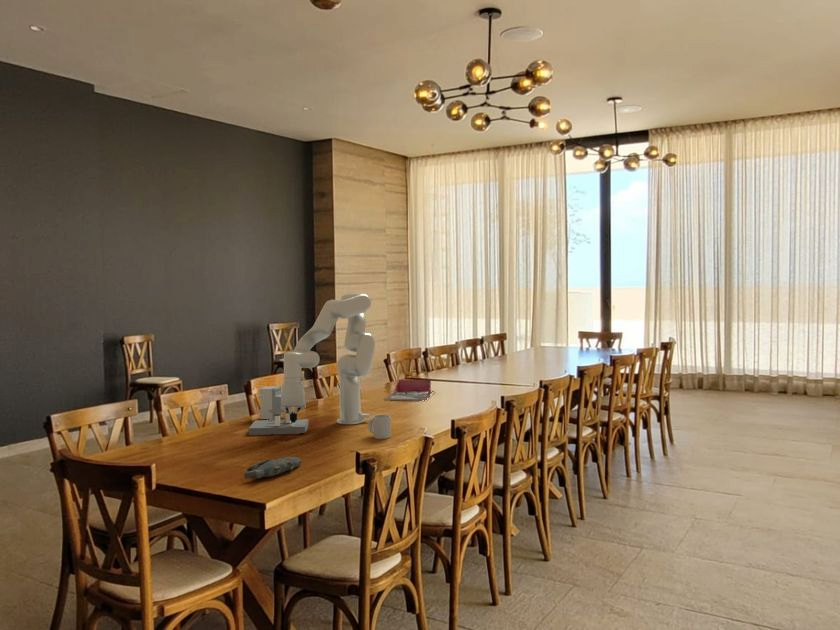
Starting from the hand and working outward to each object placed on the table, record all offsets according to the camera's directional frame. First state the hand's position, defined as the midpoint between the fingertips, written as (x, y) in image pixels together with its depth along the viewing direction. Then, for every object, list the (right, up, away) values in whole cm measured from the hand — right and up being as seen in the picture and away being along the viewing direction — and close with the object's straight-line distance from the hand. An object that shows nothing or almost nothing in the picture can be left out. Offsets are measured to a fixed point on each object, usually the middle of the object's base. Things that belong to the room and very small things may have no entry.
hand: (293, 422), depth 305 cm
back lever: (-4, -1, +12) cm, 12 cm away
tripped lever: (-7, -1, 0) cm, 7 cm away
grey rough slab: (+3, -8, -64) cm, 64 cm away
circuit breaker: (-14, -4, +33) cm, 36 cm away
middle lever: (-3, -1, +6) cm, 7 cm away
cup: (+38, -5, -10) cm, 40 cm away
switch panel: (-7, -5, +6) cm, 10 cm away
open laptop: (+50, 0, +95) cm, 107 cm away
